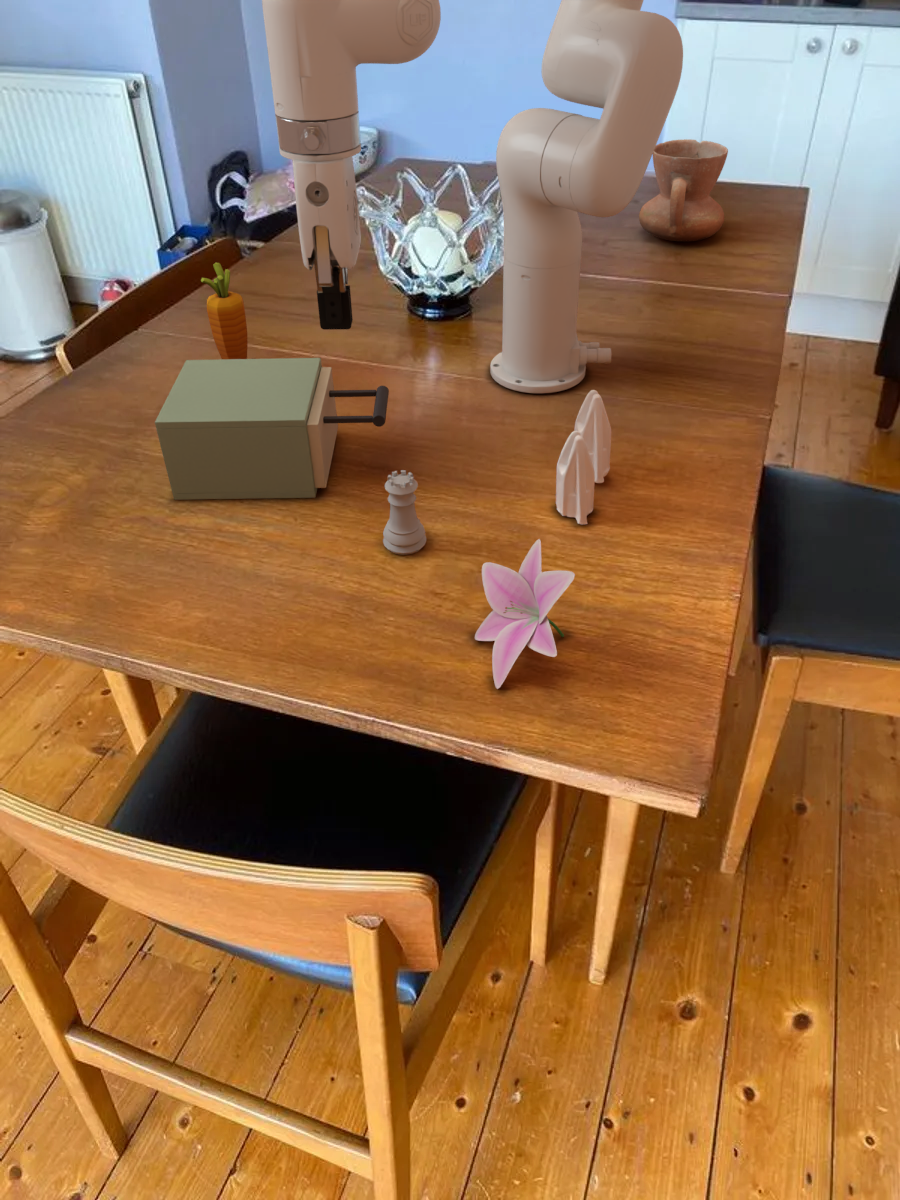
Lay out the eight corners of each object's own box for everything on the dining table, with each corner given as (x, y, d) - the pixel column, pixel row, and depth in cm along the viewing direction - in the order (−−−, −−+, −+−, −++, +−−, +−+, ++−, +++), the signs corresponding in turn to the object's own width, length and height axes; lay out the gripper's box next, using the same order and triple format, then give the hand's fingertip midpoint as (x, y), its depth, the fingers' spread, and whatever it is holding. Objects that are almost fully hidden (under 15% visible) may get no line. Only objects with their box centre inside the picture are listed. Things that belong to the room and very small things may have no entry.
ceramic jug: (649, 215, 172) (659, 132, 163) (729, 224, 168) (743, 138, 159) (624, 248, 160) (633, 159, 151) (709, 258, 155) (724, 167, 146)
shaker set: (578, 462, 107) (584, 372, 100) (614, 468, 106) (623, 378, 99) (548, 518, 98) (553, 425, 91) (586, 526, 97) (595, 432, 90)
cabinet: (329, 431, 114) (320, 357, 108) (315, 497, 102) (304, 419, 96) (201, 433, 114) (186, 359, 108) (173, 499, 103) (154, 422, 97)
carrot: (249, 387, 123) (229, 274, 113) (213, 385, 124) (191, 272, 114) (262, 370, 127) (244, 260, 117) (228, 368, 127) (207, 258, 118)
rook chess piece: (375, 551, 95) (369, 484, 90) (394, 527, 98) (389, 461, 93) (416, 560, 93) (412, 493, 88) (433, 536, 96) (430, 469, 91)
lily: (489, 600, 90) (445, 547, 83) (607, 572, 85) (571, 513, 78) (489, 714, 83) (441, 667, 76) (616, 690, 79) (578, 638, 72)
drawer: (393, 426, 112) (389, 365, 107) (387, 486, 102) (382, 423, 97) (218, 428, 113) (206, 368, 108) (194, 489, 103) (179, 426, 98)
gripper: (352, 155, 80) (367, 357, 91) (366, 114, 91) (377, 298, 103) (265, 156, 80) (290, 357, 92) (289, 115, 91) (309, 299, 103)
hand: (336, 325), depth 97 cm, fingers closed
